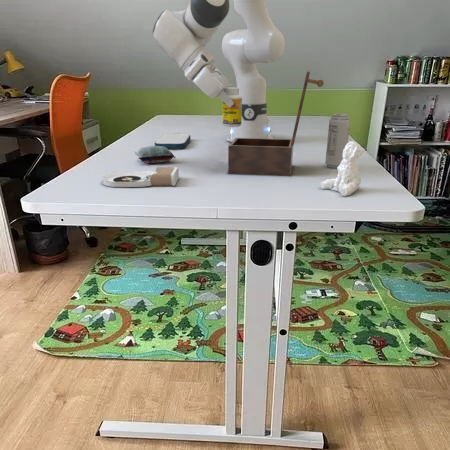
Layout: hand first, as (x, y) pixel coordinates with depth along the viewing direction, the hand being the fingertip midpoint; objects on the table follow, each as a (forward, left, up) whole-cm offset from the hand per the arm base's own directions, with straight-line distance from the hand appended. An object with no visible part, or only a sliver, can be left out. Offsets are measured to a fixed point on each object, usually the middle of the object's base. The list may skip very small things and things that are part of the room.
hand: (234, 104), depth 130 cm
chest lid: (0, +18, -1) cm, 18 cm away
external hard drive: (-38, -29, -17) cm, 51 cm away
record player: (+20, -23, -18) cm, 35 cm away
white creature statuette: (+20, +31, -18) cm, 41 cm away
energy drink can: (-8, +30, -18) cm, 36 cm away
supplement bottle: (0, -1, -6) cm, 6 cm away
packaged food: (-6, -27, -18) cm, 33 cm away
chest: (0, +8, -18) cm, 20 cm away
